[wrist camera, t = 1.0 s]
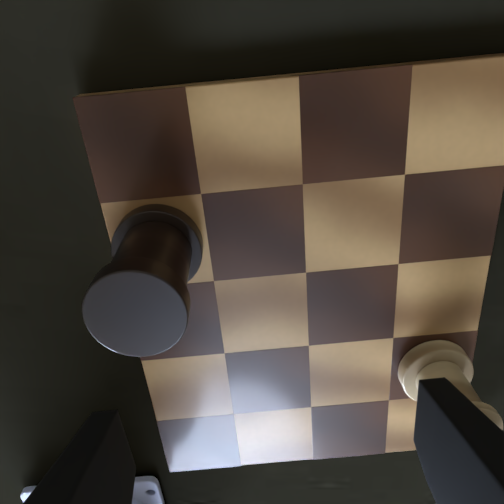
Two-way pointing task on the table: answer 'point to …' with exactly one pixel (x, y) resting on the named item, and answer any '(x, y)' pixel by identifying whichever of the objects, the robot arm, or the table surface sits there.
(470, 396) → the pawn
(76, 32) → the table surface
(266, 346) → the chessboard
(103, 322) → the rook
